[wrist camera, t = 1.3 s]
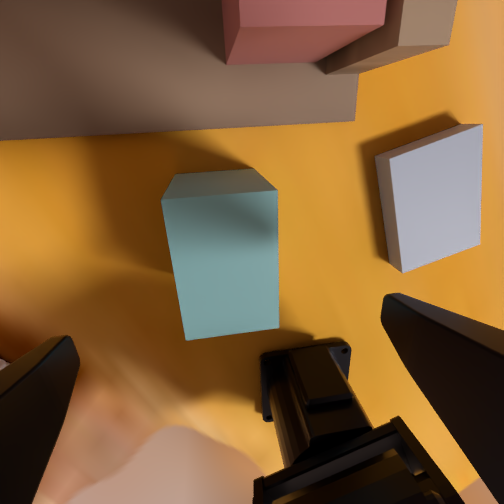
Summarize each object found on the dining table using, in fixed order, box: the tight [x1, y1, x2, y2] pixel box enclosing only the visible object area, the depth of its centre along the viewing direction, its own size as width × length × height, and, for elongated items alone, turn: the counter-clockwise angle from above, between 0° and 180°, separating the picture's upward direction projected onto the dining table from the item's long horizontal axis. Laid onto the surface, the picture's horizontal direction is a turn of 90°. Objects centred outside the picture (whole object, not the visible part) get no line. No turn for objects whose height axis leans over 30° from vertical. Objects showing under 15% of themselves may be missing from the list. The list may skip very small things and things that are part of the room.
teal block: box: [161, 168, 279, 341], centre depth 14 cm, size 6×4×6 cm, turn 3°
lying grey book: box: [375, 124, 483, 273], centre depth 17 cm, size 7×5×2 cm
